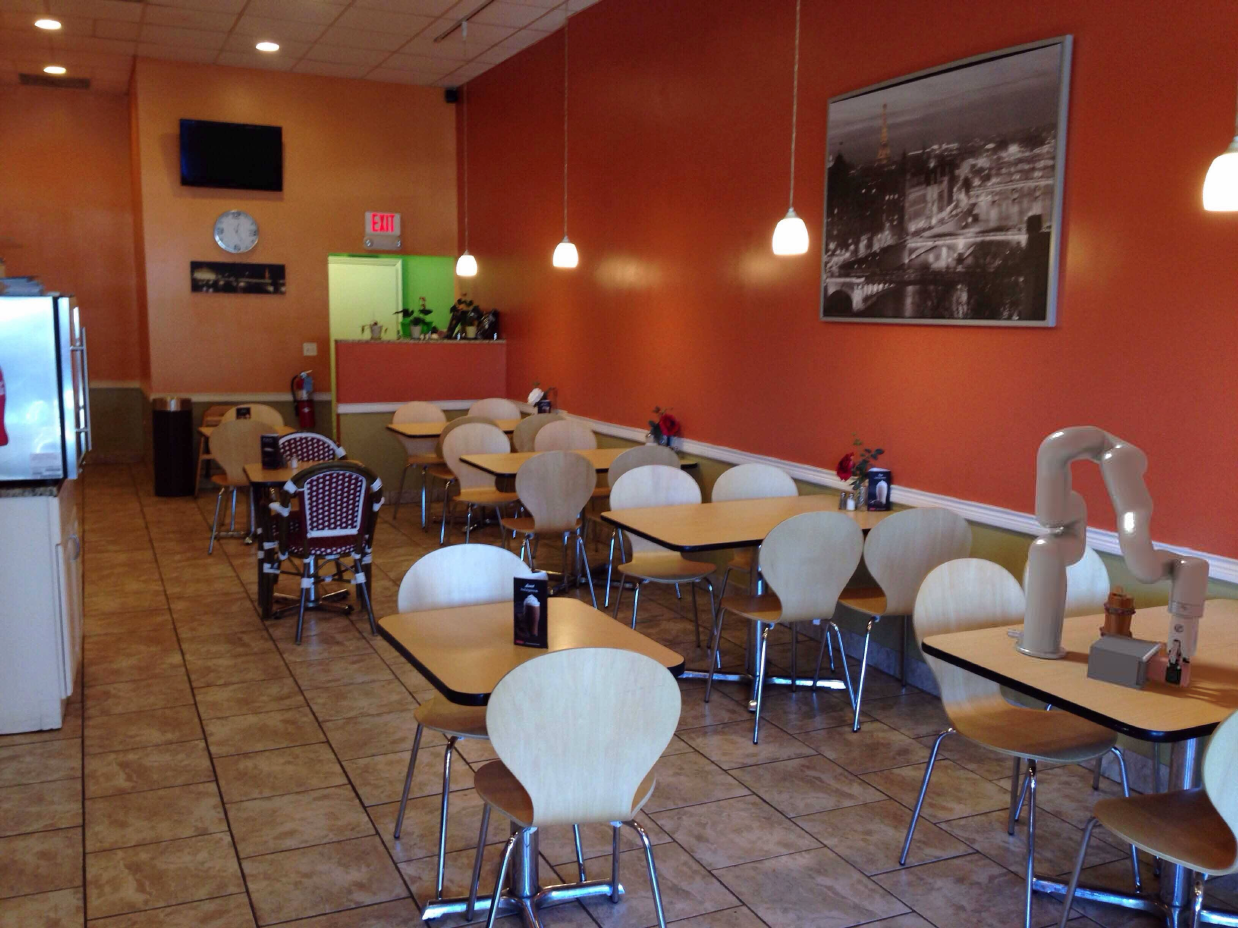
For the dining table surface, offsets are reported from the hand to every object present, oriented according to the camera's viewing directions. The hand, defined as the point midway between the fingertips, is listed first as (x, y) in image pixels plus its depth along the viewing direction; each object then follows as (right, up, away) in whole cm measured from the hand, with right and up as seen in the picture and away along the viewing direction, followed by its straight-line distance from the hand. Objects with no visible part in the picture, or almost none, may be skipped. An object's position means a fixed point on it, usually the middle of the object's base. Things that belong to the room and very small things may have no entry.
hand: (1176, 678), depth 250 cm
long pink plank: (-5, 0, +4) cm, 7 cm away
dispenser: (-9, -1, +8) cm, 12 cm away
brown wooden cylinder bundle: (+2, +2, +35) cm, 35 cm away
